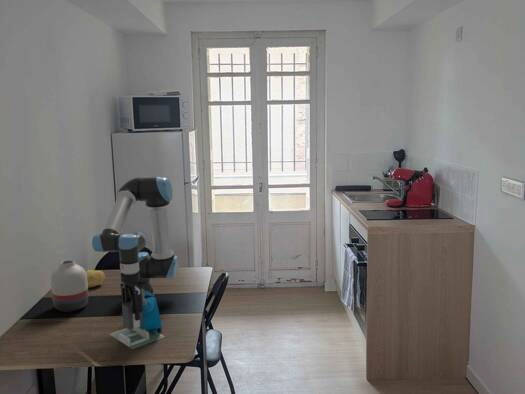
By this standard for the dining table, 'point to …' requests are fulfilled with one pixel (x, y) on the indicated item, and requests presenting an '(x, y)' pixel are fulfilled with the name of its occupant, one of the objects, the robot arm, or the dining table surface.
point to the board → (128, 332)
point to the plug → (129, 315)
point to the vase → (69, 287)
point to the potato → (94, 277)
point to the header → (141, 332)
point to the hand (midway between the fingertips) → (133, 325)
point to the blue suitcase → (150, 312)
